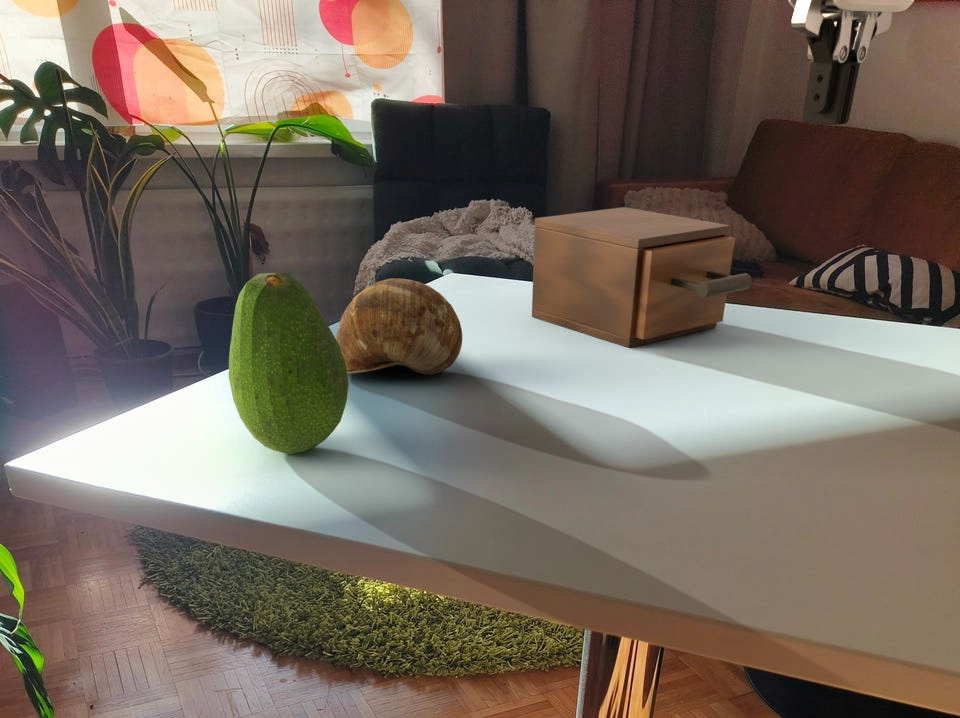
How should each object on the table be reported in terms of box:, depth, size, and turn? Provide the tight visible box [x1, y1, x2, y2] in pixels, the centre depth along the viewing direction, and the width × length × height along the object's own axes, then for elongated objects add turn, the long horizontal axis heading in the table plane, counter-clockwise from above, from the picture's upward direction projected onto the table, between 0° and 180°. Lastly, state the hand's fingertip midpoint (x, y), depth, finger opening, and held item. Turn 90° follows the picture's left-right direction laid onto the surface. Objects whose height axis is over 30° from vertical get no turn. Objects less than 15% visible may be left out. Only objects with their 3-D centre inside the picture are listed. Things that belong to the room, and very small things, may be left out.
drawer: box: [635, 236, 752, 340], centre depth 88 cm, size 18×11×8 cm, turn 37°
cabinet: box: [531, 206, 732, 348], centre depth 90 cm, size 15×13×10 cm
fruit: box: [228, 272, 349, 455], centre depth 60 cm, size 8×8×12 cm
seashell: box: [335, 277, 463, 376], centre depth 76 cm, size 11×9×8 cm
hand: (824, 123), depth 70 cm, fingers closed
